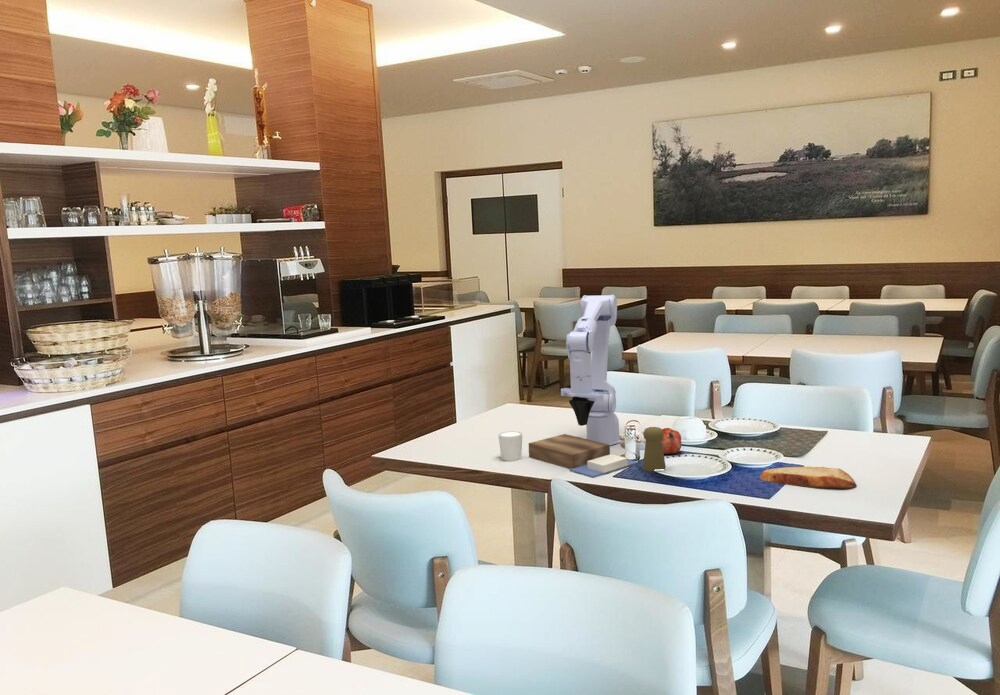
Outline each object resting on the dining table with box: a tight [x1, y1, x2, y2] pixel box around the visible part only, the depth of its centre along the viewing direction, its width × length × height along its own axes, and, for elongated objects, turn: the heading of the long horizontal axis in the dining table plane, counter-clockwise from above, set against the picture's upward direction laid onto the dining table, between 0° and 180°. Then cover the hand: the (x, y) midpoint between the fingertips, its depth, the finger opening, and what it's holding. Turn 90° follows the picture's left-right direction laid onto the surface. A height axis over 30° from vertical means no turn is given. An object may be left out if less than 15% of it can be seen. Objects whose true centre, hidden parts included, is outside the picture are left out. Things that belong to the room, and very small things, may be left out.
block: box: [587, 453, 628, 473], centre depth 214 cm, size 9×6×2 cm, turn 128°
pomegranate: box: [661, 427, 682, 455], centre depth 226 cm, size 7×7×10 cm
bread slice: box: [759, 466, 858, 490], centre depth 196 cm, size 18×18×4 cm
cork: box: [642, 426, 667, 473], centre depth 212 cm, size 6×6×11 cm
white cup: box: [498, 430, 523, 462], centre depth 229 cm, size 7×7×7 cm
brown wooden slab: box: [528, 433, 611, 470], centre depth 226 cm, size 14×18×4 cm
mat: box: [569, 459, 639, 479], centre depth 216 cm, size 17×9×1 cm, turn 128°
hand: (582, 424), depth 220 cm, fingers closed
